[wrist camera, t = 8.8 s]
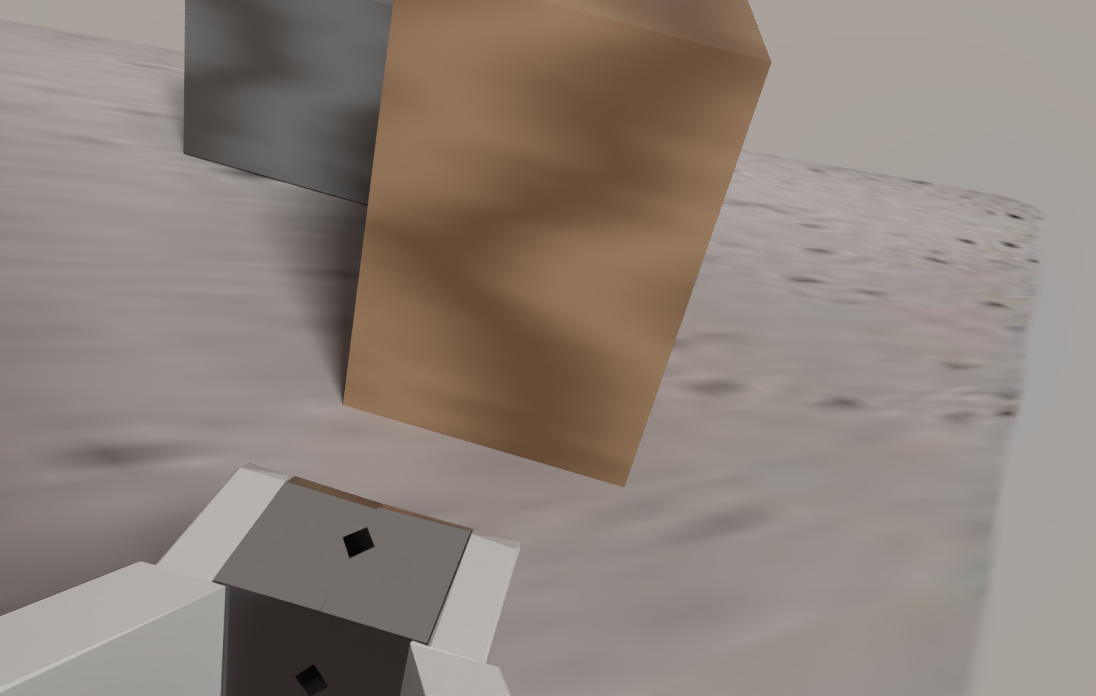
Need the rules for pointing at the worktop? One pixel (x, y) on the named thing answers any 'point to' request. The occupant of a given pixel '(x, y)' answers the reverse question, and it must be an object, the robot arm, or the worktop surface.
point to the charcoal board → (287, 88)
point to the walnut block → (544, 215)
